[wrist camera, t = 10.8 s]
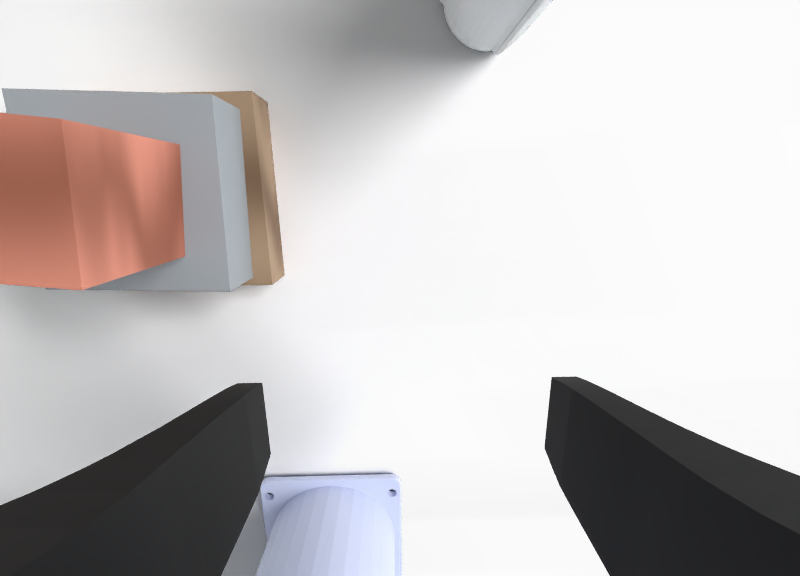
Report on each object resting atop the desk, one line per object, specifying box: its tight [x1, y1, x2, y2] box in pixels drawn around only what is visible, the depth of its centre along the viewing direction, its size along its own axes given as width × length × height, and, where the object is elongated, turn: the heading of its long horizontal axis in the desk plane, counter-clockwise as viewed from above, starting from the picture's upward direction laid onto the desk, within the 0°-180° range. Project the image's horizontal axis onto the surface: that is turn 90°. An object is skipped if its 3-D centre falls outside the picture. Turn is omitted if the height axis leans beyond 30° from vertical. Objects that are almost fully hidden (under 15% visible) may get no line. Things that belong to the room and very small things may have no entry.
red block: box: [0, 113, 185, 290], centre depth 11 cm, size 4×4×5 cm
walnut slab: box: [181, 91, 284, 285], centre depth 17 cm, size 8×8×2 cm
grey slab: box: [2, 88, 253, 292], centre depth 15 cm, size 7×7×2 cm
